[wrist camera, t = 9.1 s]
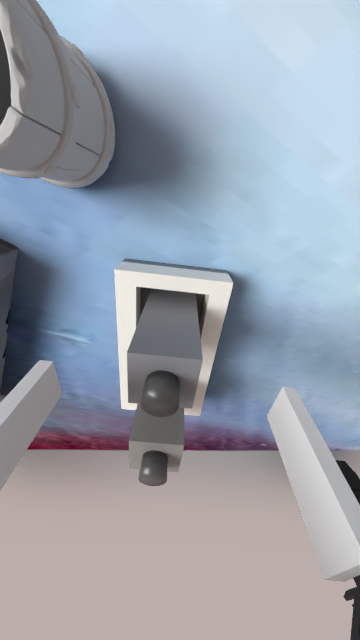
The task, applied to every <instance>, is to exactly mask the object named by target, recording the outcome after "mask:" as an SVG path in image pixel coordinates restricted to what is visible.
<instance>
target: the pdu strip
mask: <svg viewBox="0 0 360 640" xmlns="http://www.w3.org/2000/svg"><path fill="white" fill-rule="evenodd" d="M114 272H115V292H116V312H117V331H118V351H119V370H120V390H121V409H129V410H136V408H137V404H136V403H128V377H127V351H128V348H129V346H130V343H131V340H132V338H133V335H134V333H135V330H136V327H137V325H138V322H139V319H140V317H141V314H142V312H143V309H144V306H145V304H146V301H147V298H148V296H149V293H150V290H151V288H154V289H163V290H171V291H180V292H189V293H196V302H197V311H198V320H199V330H200V339H201V348H202V357H203V362H202V366H201V371H200V375H199V380H198V385H197V389H196V394H195V398H194V403H193V407H192V409H191V408H184V414H185V415H196V416H200V413H201V409H202V405H203V401H204V397H205V393H206V389H207V385H208V381H209V378H210V374H211V370H212V366H213V362H214V358H215V354H216V350H217V346H218V342H219V338H220V334H221V330H222V326H223V323H224V319H225V315H226V311H227V307H228V303H229V299H230V295H231V291H232V287H233V281H232V279H231V278H230V276H229V274H228V272H227V271H226V270H217V269H209V268H200V267H192V266H183V265H174V264H166V263H157V262H149V261H140V260H132V259H124V260H123V261H122V262H121V263H120V264H119V265H118V266H117V267H116V268H115V269H114Z"/></svg>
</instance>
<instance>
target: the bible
mask: <svg viewBox="0 0 360 640" xmlns="http://www.w3.org/2000/svg"><path fill="white" fill-rule="evenodd" d="M18 251H19V250H18V248H17V247H16V246H14V245H12V244H10V243H7V242H5V241H3V240H1V239H0V394H1V385H2V380H3V379H2V375H3V369H4V363H5V357H4V358H3V359H2V357H3V354H4V351H5V349H6V343H7V336H8V334H7V332H6V330H7V328H8V324H6V318H7V316H8V312H9V310H10V302H11V299H12V293H13V283H14V277H15V266H16V259H17V255H18Z"/></svg>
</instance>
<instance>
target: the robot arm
mask: <svg viewBox="0 0 360 640" xmlns="http://www.w3.org/2000/svg"><path fill="white" fill-rule="evenodd" d="M61 395H62V391H61V388H60V384H59V380H58V377H57V373H56V370H55V366H54V362H53V361H44V360H39V361H38V362H37V363H36V364H35V365H34V367H33V368H32V369H31V370H30V371H29V372H28V373H27V374H26V375H25V376H24V378H23V379H22V380H21V381H20V382H19V383H18V384H17V385H16V386H15V387H14V388H13V390H12V391H11V392H10V393H9V394H8V395H7V396H6V397H5V398H4V399H3V401H2V402H1V403H0V490H1V489H2V487H3V486H4V484H5V483H6V481H7V479H8V478H9V476H10V475H11V473H12V472H13V470H14V469H15V467H16V465H17V464H18V462H19V461H20V459H21V458H22V456H23V455H24V453H25V451H26V450H27V448H28V447H29V445H30V444H31V442H32V441H33V439H34V437H35V436H36V434H37V433H38V431H39V430H40V428H41V426H42V425H43V423H44V422H45V420H46V419H47V417H48V416H49V414H50V412H51V411H52V409H53V408H54V406H55V405H56V403H57V402H58V400H59V398H60V397H61ZM267 417H268V420H269V423H270V426H271V429H272V432H273V435H274V438H275V440H276V443H277V446H278V449H279V452H280V455H281V458H282V460H283V463H284V466H285V469H286V472H287V475H288V478H289V480H290V483H291V486H292V489H293V492H294V495H295V497H296V500H297V503H298V506H299V509H300V512H301V515H302V518H303V520H304V523H305V526H306V529H307V532H308V535H309V538H310V540H311V543H312V546H313V549H314V552H315V555H316V558H317V561H318V563H319V566H320V569H321V572H322V575H323V578H324V580H334V581H347V580H350V579H352V578H354V581H355V583H356V585H357V587H355V588H352V589H349V590H348V591H346V592H345V595H344V598H345V599H346V600H347V601H348V600H352V599H354V604H353V605H352V606H353V607H354V608H353V618H352V630H351V640H360V479H359V477H358V476H357V474H356V473H355V472H354V471H353V470H352V469H351V468H350V467H349V466H348V464H347V463H346V462H345V461H338V460H335V459H334V457H333V455H332V454H331V452H330V450H329V448H328V446H327V444H326V443H325V441H324V439H323V437H322V435H321V433H320V432H319V430H318V428H317V426H316V424H315V423H314V421H313V419H312V417H311V415H310V413H309V412H308V410H307V408H306V406H305V404H304V402H303V401H302V399H301V397H300V395H299V393H298V392H297V390H296V388H289V387H282V389H281V391H280V393H279V394H278V396H277V398H276V400H275V402H274V404H273V406H272V407H271V409H270V411H269V413H268V415H267Z"/></svg>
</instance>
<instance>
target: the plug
mask: <svg viewBox="0 0 360 640" xmlns="http://www.w3.org/2000/svg"><path fill="white" fill-rule="evenodd" d="M202 362H203V357H202V348H201V339H200V330H199V320H198V311H197V302H196V293H189V292H180V291H171V290H163V289H154V288H151V290H150V293H149V296H148V298H147V301H146V304H145V306H144V309H143V312H142V314H141V317H140V319H139V322H138V325H137V327H136V330H135V333H134V335H133V338H132V340H131V343H130V346H129V348H128V351H127V377H128V403H136V404H140V405H141V408H142V409H143V410H144V411H145V412H146V413H147V414H149V415H152V416H155V417H167V416H171V415H173V414H175V413H176V412H177V411H178V409H179V407H180V408H191V409H192V407H193V403H194V398H195V394H196V389H197V385H198V380H199V375H200V371H201V366H202Z"/></svg>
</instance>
